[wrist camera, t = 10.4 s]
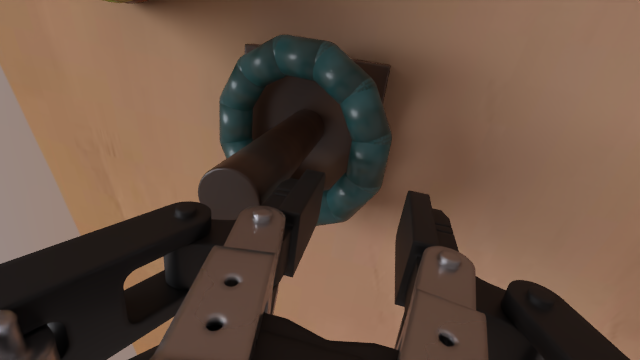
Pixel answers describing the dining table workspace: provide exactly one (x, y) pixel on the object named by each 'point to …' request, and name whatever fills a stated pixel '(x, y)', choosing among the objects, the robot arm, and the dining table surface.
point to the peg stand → (285, 143)
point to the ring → (342, 85)
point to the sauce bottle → (126, 1)
